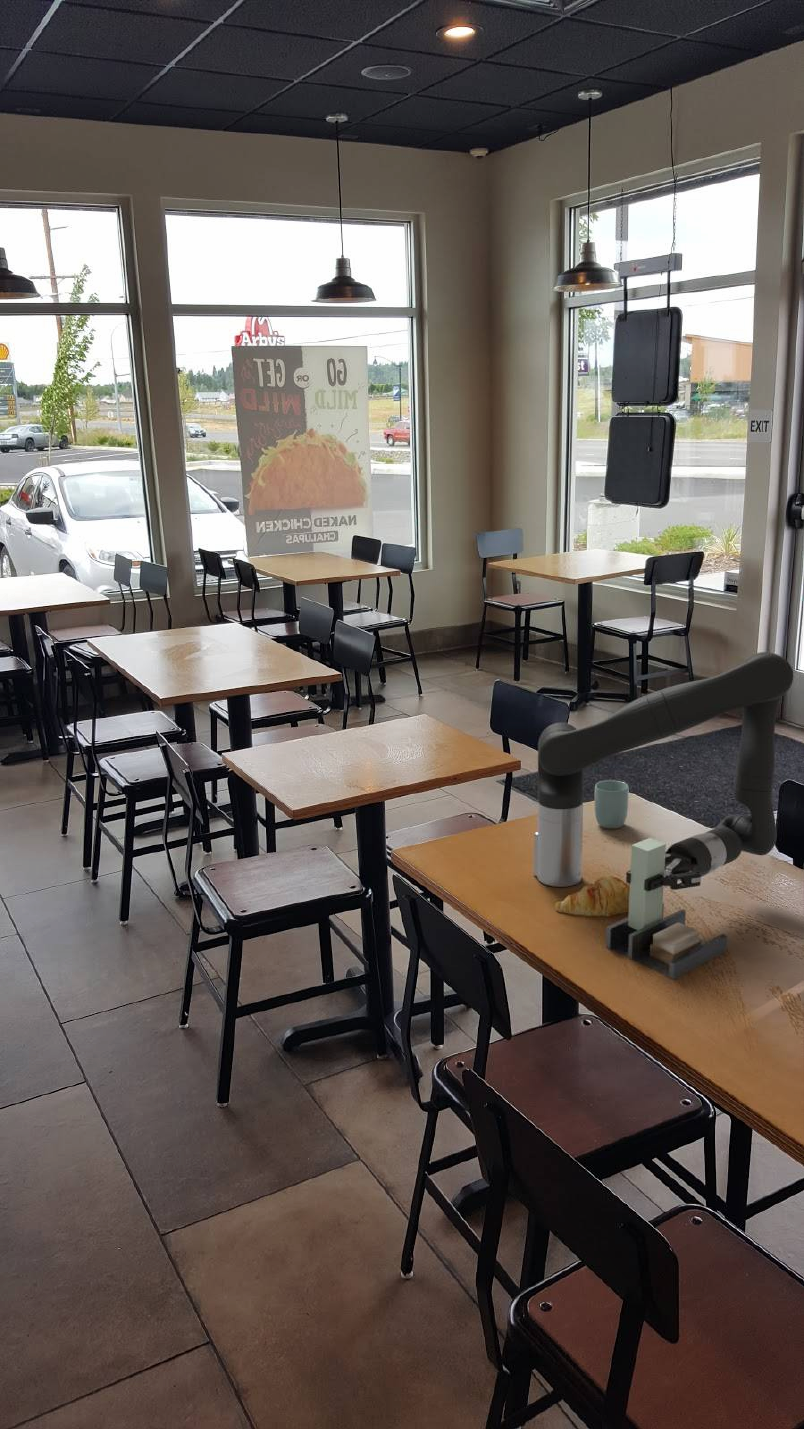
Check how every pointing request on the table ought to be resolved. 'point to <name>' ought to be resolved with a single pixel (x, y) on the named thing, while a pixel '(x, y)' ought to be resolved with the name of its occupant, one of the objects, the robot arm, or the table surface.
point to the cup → (611, 803)
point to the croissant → (598, 899)
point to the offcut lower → (668, 956)
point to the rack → (639, 942)
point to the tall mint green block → (643, 866)
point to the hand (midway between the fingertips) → (637, 881)
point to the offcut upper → (676, 938)
